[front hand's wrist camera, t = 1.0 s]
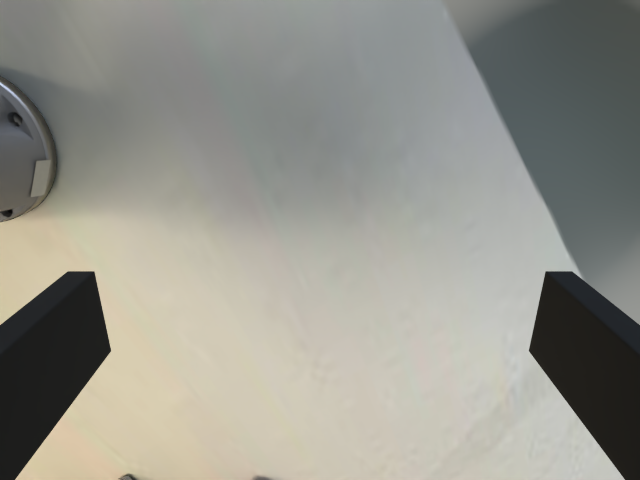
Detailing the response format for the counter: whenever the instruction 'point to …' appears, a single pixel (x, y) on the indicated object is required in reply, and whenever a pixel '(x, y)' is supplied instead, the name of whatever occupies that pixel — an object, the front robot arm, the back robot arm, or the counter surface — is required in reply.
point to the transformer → (126, 478)
